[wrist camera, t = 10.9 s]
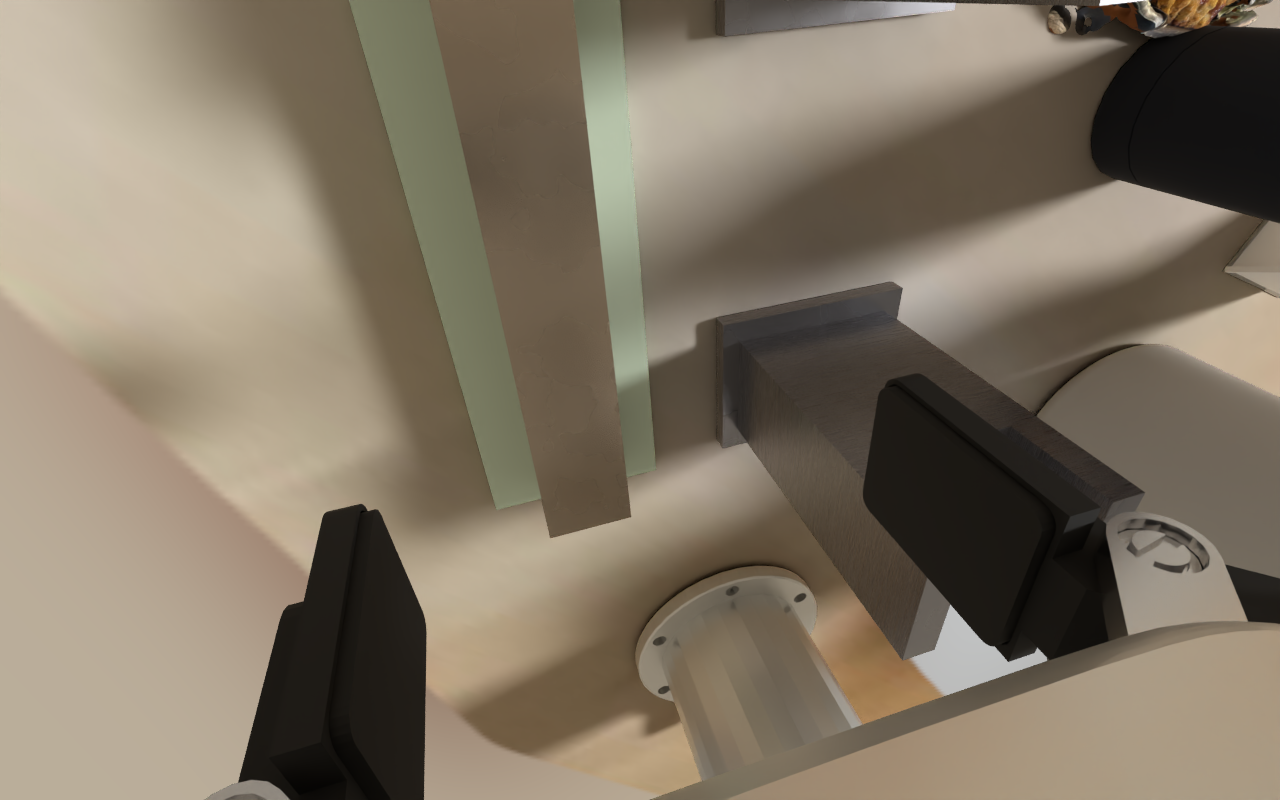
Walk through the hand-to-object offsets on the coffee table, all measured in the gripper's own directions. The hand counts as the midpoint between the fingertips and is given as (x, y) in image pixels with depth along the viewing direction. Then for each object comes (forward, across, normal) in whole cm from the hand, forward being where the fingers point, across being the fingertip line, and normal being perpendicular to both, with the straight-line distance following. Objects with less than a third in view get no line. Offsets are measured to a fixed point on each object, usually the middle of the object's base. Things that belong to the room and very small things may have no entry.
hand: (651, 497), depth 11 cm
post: (+15, -12, +8) cm, 21 cm away
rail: (+14, 0, -1) cm, 14 cm away
